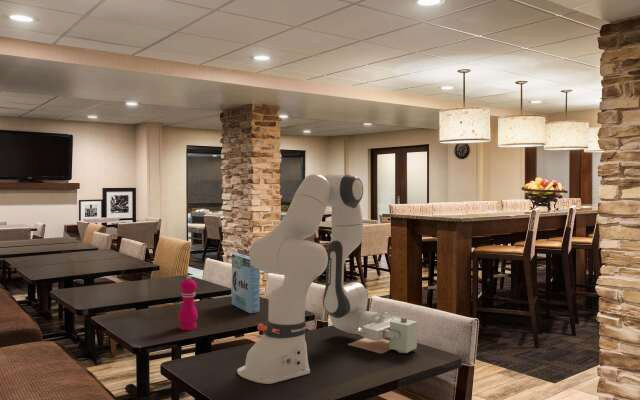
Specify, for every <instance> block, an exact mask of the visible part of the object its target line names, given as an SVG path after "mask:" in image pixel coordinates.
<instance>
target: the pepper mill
mask: <svg viewBox="0 0 640 400" xmlns="http://www.w3.org/2000/svg"><path fill="white" fill-rule="evenodd" d="M179 288H180V290H181V291H182V292H181V297H182V304H181V307H180V310H179V311H178V316H177V318H178V321H180V322H179V330H182V331H193V330H195V329H197V327H198V326H197V322H196V321H197V320H198V318H199V315H198V313H199V312H198V310H197V308H196V305H195V297H196V292H195V291H196V290H197V288H198V286H197V282H196V281H195V280H194V279H192V275H190V274H187V275H186V279H184V280H183V281H181V283H180V287H179Z"/></svg>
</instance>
